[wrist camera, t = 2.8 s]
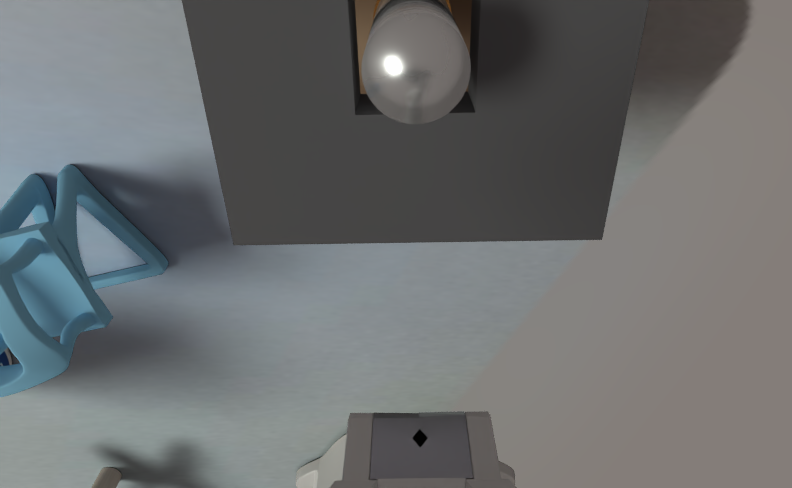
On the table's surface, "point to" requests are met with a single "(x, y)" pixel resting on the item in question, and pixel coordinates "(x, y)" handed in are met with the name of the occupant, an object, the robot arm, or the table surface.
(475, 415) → the robot arm
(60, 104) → the table surface
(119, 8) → the table surface
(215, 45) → the collar
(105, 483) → the pipe connector
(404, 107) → the post
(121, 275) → the chair
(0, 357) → the beverage bottle
